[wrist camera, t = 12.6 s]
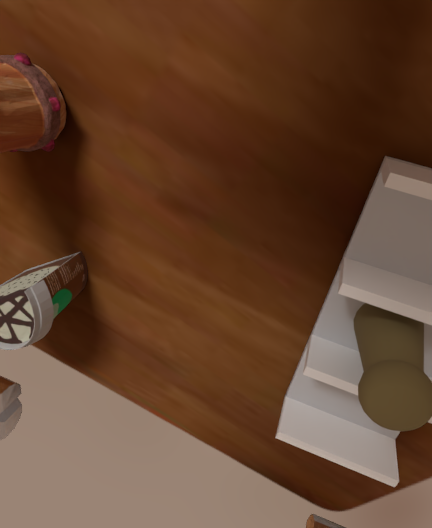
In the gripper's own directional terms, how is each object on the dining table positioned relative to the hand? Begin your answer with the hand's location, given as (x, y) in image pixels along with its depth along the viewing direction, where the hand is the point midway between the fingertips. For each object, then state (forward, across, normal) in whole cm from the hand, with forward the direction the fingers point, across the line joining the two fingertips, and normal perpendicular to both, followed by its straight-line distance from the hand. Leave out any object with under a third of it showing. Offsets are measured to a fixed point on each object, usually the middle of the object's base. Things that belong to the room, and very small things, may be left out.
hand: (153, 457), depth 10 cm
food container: (+29, +23, +20) cm, 42 cm away
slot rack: (+29, -12, +10) cm, 33 cm away
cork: (+28, -12, +10) cm, 32 cm away
